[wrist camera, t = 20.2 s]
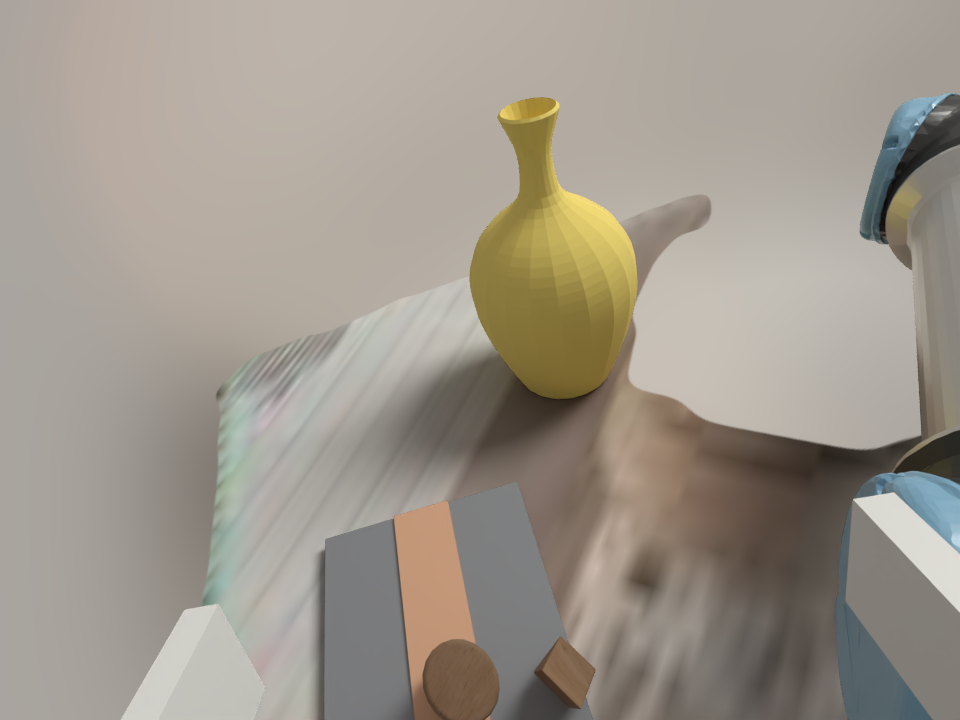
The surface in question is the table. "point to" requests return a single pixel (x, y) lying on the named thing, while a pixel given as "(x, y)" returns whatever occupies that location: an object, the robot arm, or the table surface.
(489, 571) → the board
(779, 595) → the table surface
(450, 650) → the wooden block set
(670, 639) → the table surface
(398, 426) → the table surface
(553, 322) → the vase
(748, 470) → the table surface
